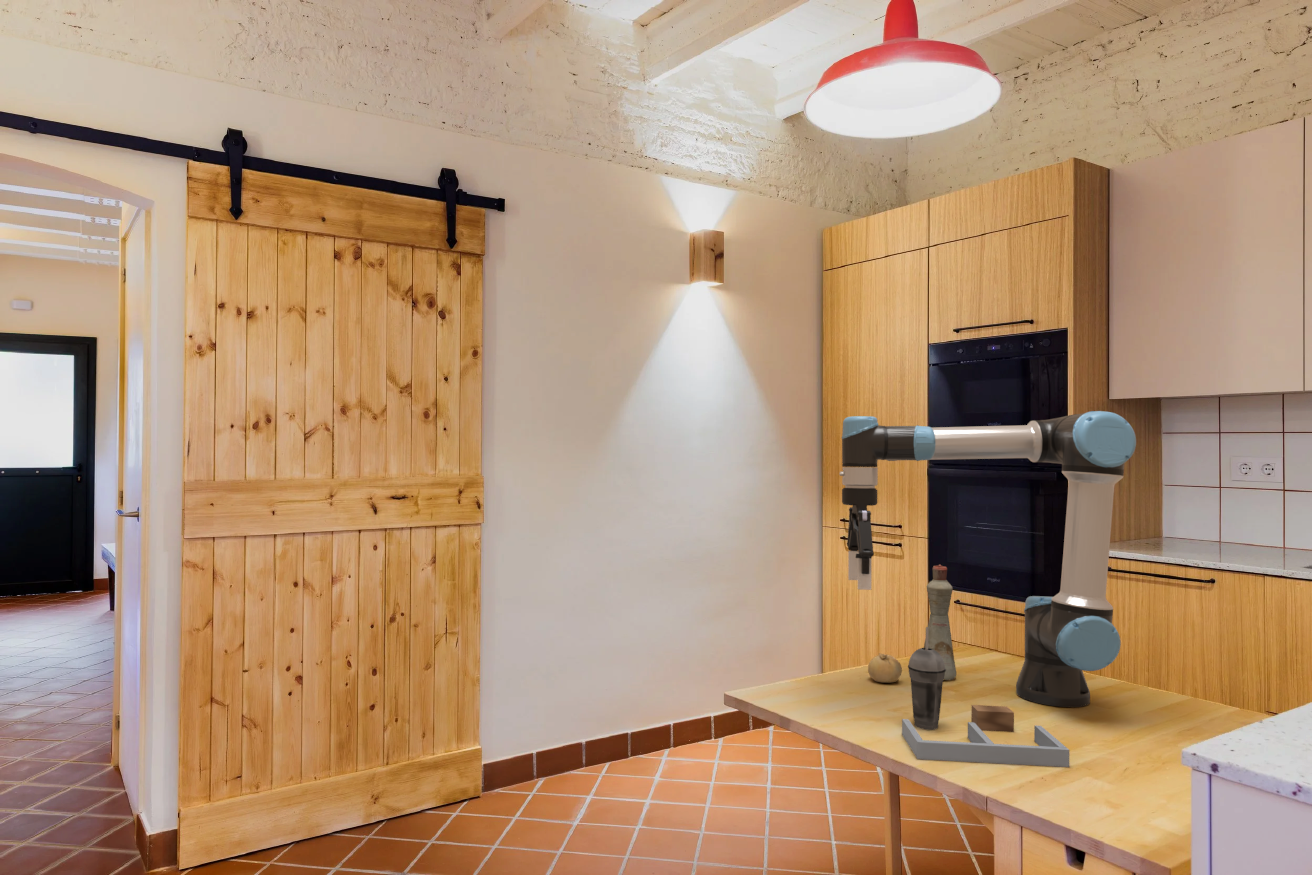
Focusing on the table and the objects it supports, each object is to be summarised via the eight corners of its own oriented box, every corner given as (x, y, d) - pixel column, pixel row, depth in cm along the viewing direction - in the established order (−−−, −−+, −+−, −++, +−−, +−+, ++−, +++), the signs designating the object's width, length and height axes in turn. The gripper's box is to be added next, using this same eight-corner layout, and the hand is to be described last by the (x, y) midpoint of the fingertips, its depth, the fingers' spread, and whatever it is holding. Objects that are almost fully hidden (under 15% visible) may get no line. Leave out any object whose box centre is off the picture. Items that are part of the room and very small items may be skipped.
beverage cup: (945, 722, 164) (945, 624, 164) (945, 733, 157) (946, 631, 157) (907, 718, 166) (908, 621, 167) (906, 729, 159) (907, 627, 160)
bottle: (920, 680, 196) (921, 565, 197) (918, 671, 205) (919, 561, 205) (958, 683, 193) (959, 567, 194) (954, 674, 202) (955, 562, 203)
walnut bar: (1006, 726, 163) (1007, 706, 163) (1013, 732, 159) (1013, 712, 159) (971, 724, 163) (971, 704, 164) (977, 731, 159) (977, 710, 160)
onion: (862, 677, 198) (863, 648, 198) (893, 676, 199) (894, 648, 199) (875, 686, 190) (875, 656, 190) (907, 686, 191) (907, 656, 191)
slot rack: (1040, 741, 153) (1040, 725, 154) (1069, 766, 141) (1069, 749, 141) (901, 734, 156) (902, 718, 156) (917, 758, 143) (917, 741, 143)
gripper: (834, 485, 188) (834, 575, 187) (850, 488, 163) (850, 593, 163) (867, 485, 187) (867, 576, 187) (888, 489, 162) (888, 594, 162)
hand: (859, 584), depth 175 cm, fingers open, 13 cm apart
